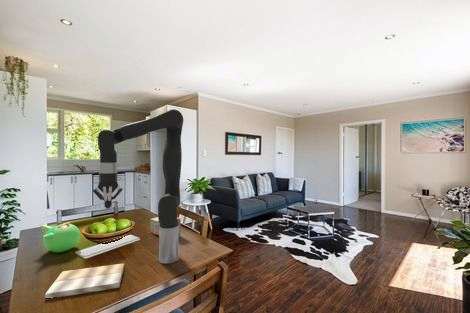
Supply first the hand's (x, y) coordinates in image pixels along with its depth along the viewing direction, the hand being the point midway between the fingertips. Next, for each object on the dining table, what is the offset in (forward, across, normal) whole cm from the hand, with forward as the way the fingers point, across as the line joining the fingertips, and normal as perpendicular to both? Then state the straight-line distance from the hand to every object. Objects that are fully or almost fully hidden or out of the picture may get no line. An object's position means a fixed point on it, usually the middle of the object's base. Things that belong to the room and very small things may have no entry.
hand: (108, 208), depth 107 cm
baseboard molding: (+28, +2, -22) cm, 35 cm away
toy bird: (+27, +26, -23) cm, 44 cm away
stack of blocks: (+27, -28, -32) cm, 50 cm away
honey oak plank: (+27, +4, +10) cm, 29 cm away
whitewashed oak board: (+27, +4, +18) cm, 33 cm away
